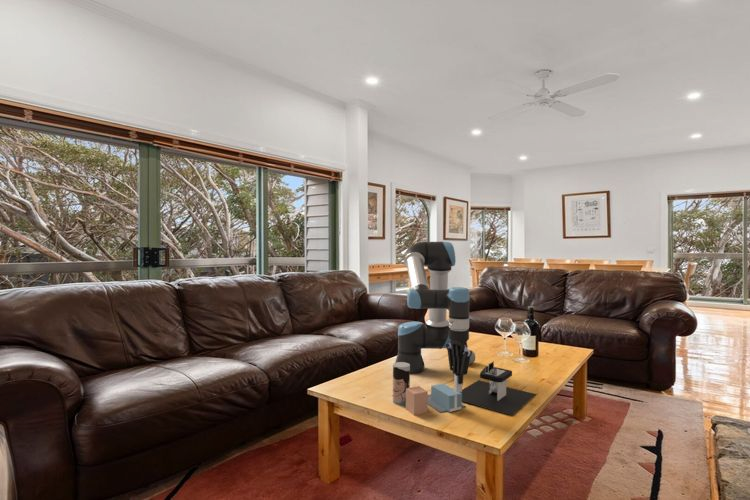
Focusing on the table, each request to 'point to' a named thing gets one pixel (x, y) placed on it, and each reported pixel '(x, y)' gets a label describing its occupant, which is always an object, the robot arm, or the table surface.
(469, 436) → the table surface
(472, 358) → the ceramic mug
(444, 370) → the table surface
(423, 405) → the terracotta block
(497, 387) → the black-topped pedestal
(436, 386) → the slate-blue block
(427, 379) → the table surface
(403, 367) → the white patterned canister
